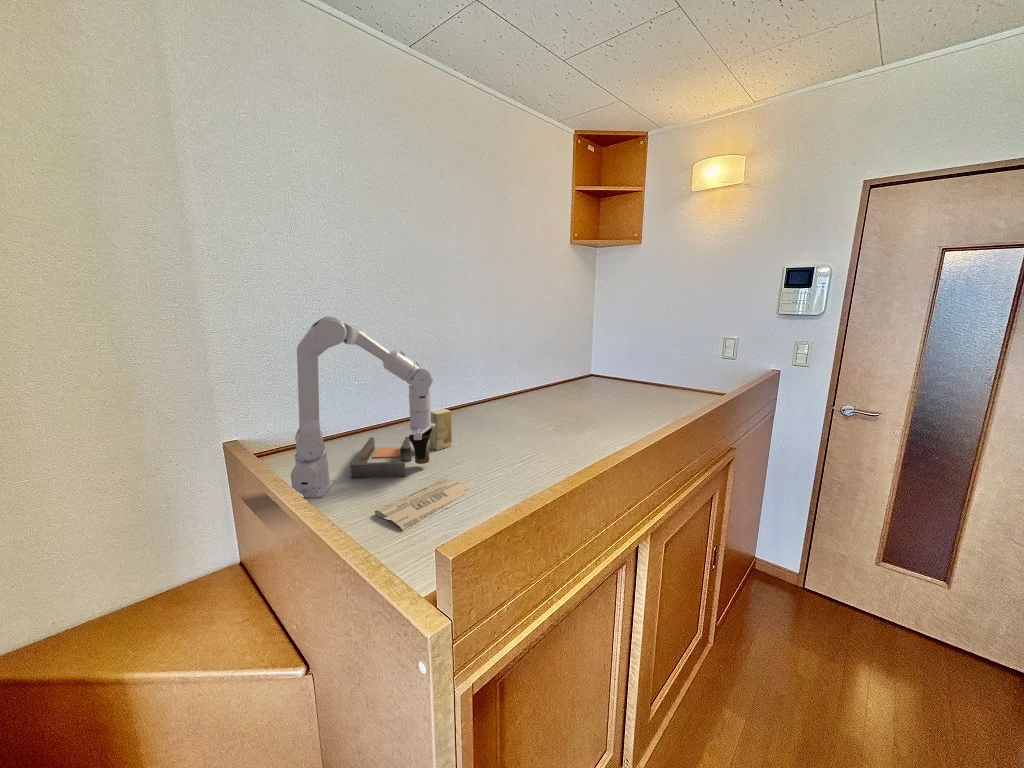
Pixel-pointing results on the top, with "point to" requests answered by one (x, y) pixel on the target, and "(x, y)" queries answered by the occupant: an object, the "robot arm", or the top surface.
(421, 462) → the brown cylinder
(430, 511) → the newspaper
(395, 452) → the pad
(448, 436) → the skincare box
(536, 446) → the top surface
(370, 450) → the rail channel
